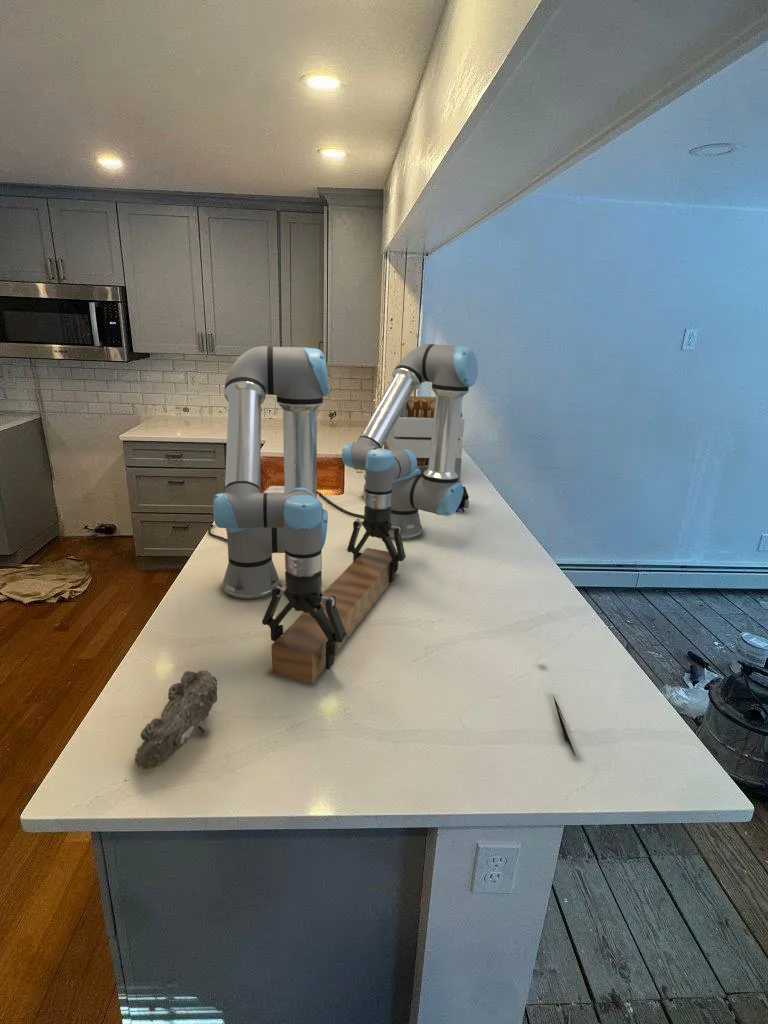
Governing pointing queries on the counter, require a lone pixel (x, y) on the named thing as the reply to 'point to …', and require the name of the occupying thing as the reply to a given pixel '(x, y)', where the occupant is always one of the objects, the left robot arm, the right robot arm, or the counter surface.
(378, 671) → the counter surface
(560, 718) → the feather
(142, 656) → the counter surface
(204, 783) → the counter surface
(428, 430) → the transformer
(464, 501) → the figurine character
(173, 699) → the fossil
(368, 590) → the thick board
